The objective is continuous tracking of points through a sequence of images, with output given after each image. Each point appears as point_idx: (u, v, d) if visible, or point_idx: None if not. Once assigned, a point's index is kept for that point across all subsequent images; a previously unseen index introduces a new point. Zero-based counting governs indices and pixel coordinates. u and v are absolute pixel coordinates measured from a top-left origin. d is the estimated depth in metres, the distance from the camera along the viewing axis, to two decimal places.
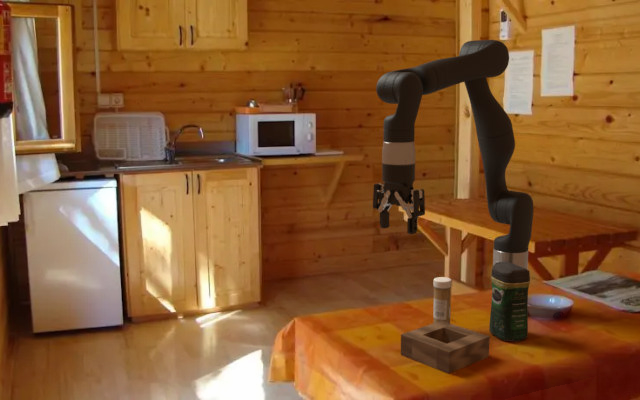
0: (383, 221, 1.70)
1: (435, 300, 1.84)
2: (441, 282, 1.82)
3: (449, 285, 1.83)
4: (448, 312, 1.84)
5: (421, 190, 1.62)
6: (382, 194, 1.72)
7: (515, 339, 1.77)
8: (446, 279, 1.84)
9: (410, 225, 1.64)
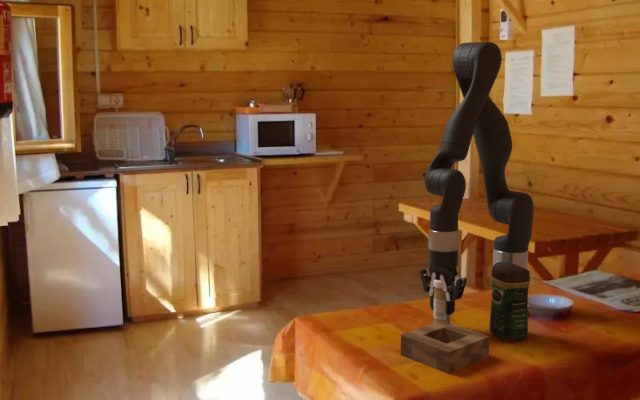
0: (433, 304, 1.87)
1: (435, 300, 1.84)
2: (441, 282, 1.82)
3: None
4: None
5: (464, 279, 1.80)
6: (429, 277, 1.89)
7: (515, 339, 1.77)
8: None
9: (448, 307, 1.83)
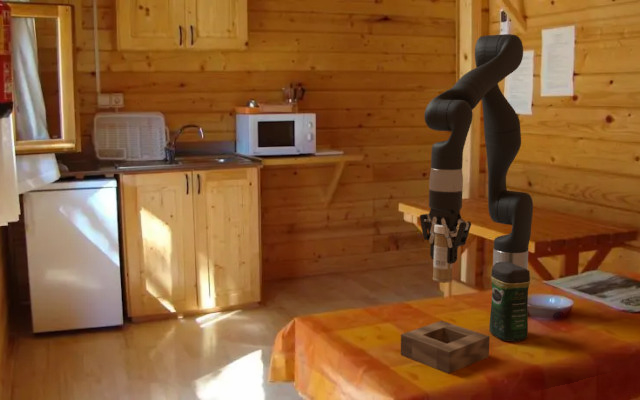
0: None
1: (436, 247, 1.67)
2: (443, 227, 1.65)
3: (451, 231, 1.65)
4: None
5: (468, 223, 1.62)
6: (430, 224, 1.71)
7: (515, 339, 1.77)
8: None
9: (450, 255, 1.65)
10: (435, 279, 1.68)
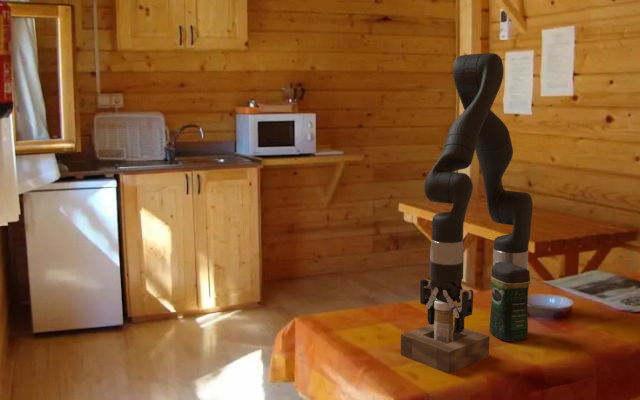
0: (431, 318, 1.70)
1: (436, 323, 1.67)
2: (443, 304, 1.66)
3: None
4: (450, 336, 1.67)
5: (470, 291, 1.62)
6: (429, 289, 1.72)
7: (515, 339, 1.77)
8: None
9: (457, 324, 1.64)
10: None
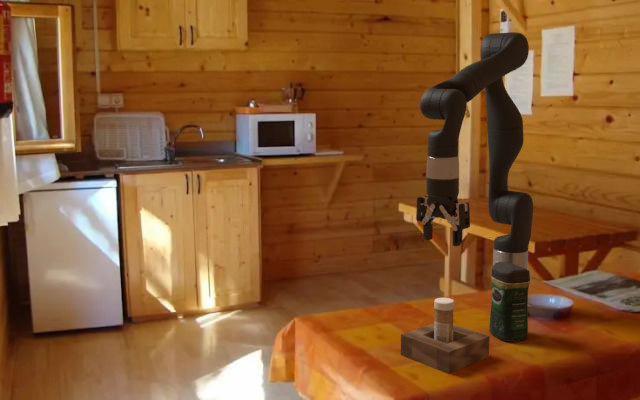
0: (427, 233, 1.75)
1: (436, 323, 1.67)
2: (443, 304, 1.66)
3: (452, 307, 1.66)
4: (450, 336, 1.67)
5: (466, 203, 1.66)
6: (425, 207, 1.76)
7: (515, 339, 1.77)
8: (448, 300, 1.67)
9: (455, 237, 1.68)
10: None
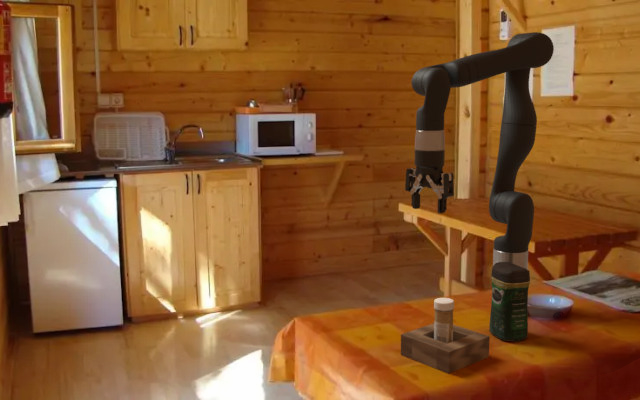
0: (415, 202, 1.89)
1: (436, 323, 1.67)
2: (443, 304, 1.66)
3: (451, 307, 1.66)
4: (450, 336, 1.67)
5: (450, 173, 1.80)
6: (414, 178, 1.90)
7: (515, 339, 1.77)
8: (448, 300, 1.67)
9: (440, 205, 1.82)
10: None
